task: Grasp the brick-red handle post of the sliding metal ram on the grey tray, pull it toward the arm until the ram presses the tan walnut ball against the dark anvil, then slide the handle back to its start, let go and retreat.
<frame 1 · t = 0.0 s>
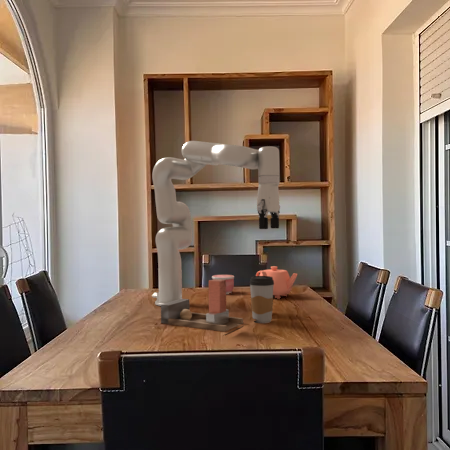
hand: (269, 228, 163), 31 cm above the table, fingers open, 9 cm apart
ram: (217, 302, 143), point 9 cm above the table, slide at 0.0 cm
container: (223, 293, 212), on the table
grey tray: (201, 326, 146), on the table
coffee cup: (262, 321, 153), on the table
walnut: (185, 321, 150), point 1 cm above the table, touching grey tray
teapot: (275, 297, 200), on the table
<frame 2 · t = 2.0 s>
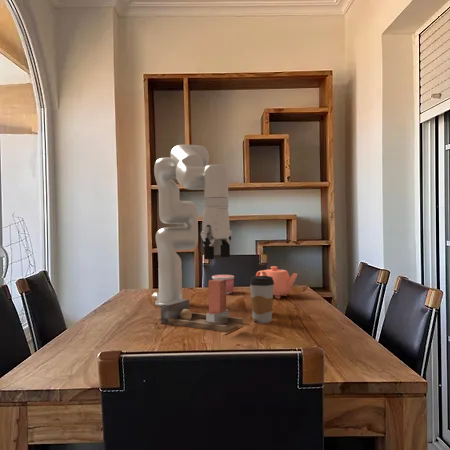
hand: (217, 258, 143), 23 cm above the table, fingers open, 9 cm apart
nothing on the table moved.
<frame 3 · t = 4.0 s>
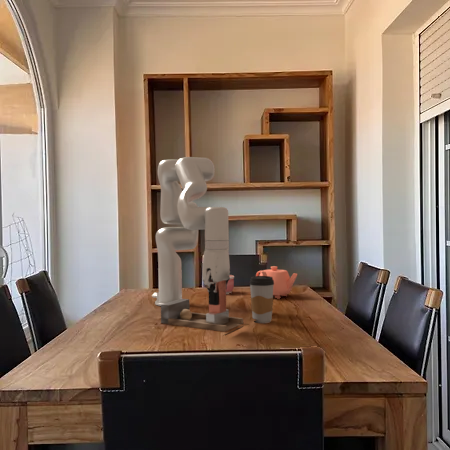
hand: (217, 302, 143), 8 cm above the table, fingers closed on ram, 4 cm apart
ram: (217, 302, 143), point 9 cm above the table, slide at 0.0 cm, touching gripper
everything else where it was.
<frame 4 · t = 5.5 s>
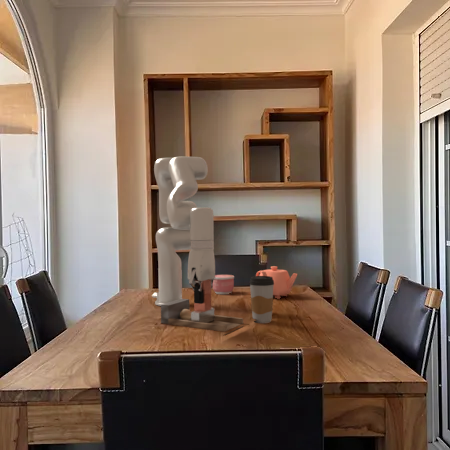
hand: (202, 301, 146), 8 cm above the table, fingers closed on ram, 4 cm apart
ram: (202, 300, 146), point 8 cm above the table, slide at 5.6 cm, touching gripper
everything else where it was.
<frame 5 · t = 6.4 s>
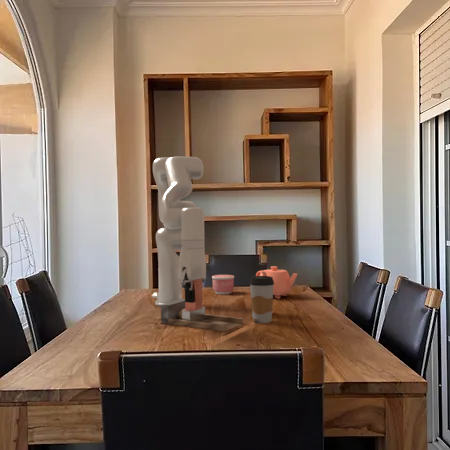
hand: (193, 300, 148), 8 cm above the table, fingers closed on ram, 4 cm apart
ram: (193, 299, 148), point 8 cm above the table, slide at 9.1 cm, touching gripper
walnut: (185, 320, 150), point 1 cm above the table, tilted 14°, touching grey tray
everything else where it was.
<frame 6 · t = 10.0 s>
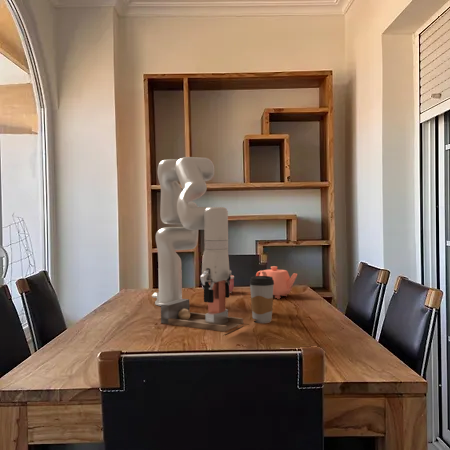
hand: (216, 299, 143), 9 cm above the table, fingers open, 9 cm apart
ram: (216, 302, 143), point 8 cm above the table, slide at 0.2 cm
everything else where it was.
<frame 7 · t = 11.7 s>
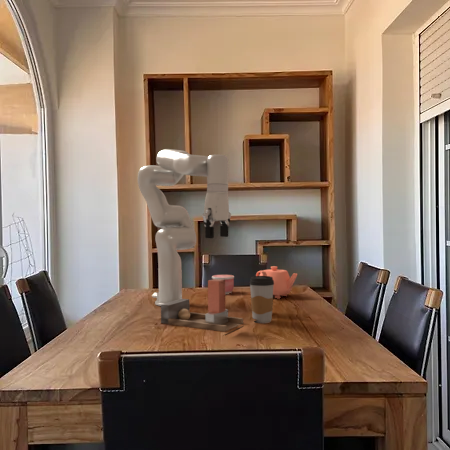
hand: (217, 237, 162), 28 cm above the table, fingers open, 9 cm apart
nothing on the table moved.
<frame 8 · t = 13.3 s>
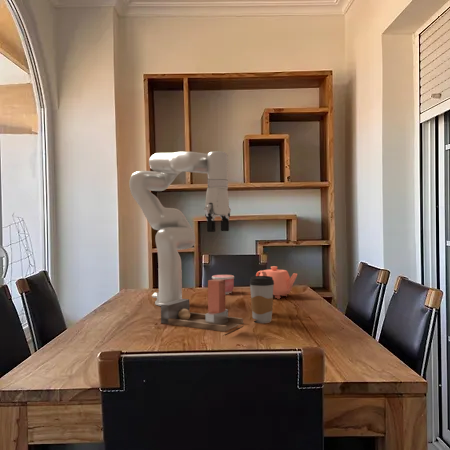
hand: (218, 231, 167), 30 cm above the table, fingers open, 9 cm apart
nothing on the table moved.
at the end: ram slide at 0.2 cm; walnut inside the target area on the grey tray (0.0 cm from its centre), point 1.3 cm above the grey tray's base; the gripper is holding nothing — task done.
